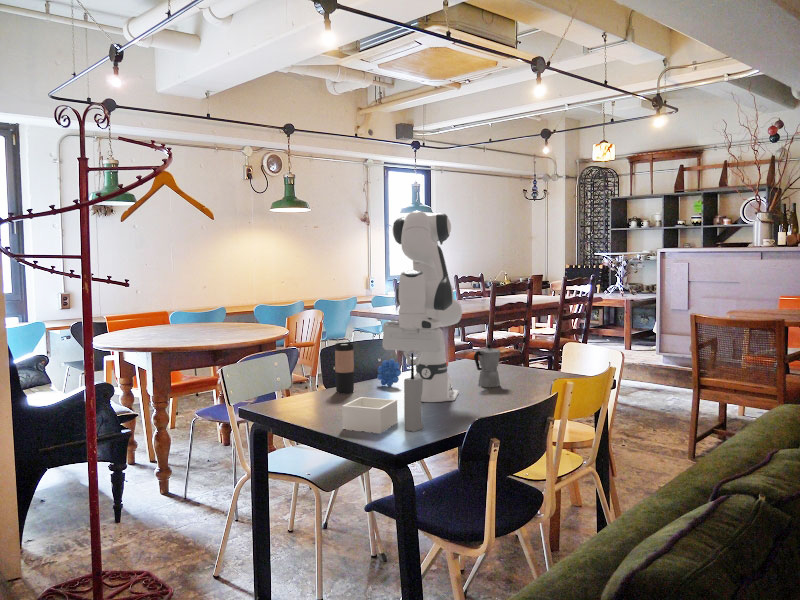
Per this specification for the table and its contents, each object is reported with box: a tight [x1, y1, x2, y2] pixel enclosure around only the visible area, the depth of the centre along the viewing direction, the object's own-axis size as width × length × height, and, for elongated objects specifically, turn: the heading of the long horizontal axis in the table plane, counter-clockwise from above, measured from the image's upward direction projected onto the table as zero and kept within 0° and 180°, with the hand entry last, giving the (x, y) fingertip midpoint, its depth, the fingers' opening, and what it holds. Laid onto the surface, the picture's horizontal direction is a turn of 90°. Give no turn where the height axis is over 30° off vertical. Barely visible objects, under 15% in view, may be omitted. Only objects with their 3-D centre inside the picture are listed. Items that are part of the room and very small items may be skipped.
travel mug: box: [334, 342, 355, 394], centre depth 268 cm, size 8×8×20 cm
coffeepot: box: [473, 343, 501, 389], centre depth 276 cm, size 15×9×18 cm, turn 129°
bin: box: [341, 396, 398, 434], centre depth 214 cm, size 14×14×8 cm
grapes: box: [376, 358, 402, 387], centre depth 279 cm, size 12×7×12 cm, turn 61°
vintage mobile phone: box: [403, 352, 424, 433], centre depth 209 cm, size 4×5×25 cm
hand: (413, 364), depth 208 cm, fingers closed on vintage mobile phone
